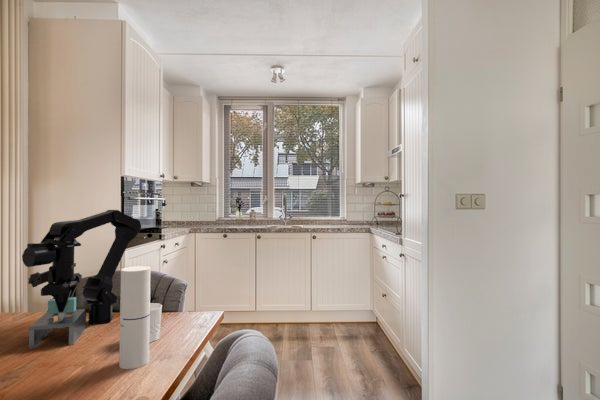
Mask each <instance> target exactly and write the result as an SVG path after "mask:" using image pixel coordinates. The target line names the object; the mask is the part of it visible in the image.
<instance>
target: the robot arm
mask: <svg viewBox="0 0 600 400" xmlns="http://www.w3.org/2000/svg"><path fill="white" fill-rule="evenodd" d="M107 224H110V225H112V226H113V227H115V228H114V235H115V236H114V237H115V238H114V240H113V243H112V244H111V246H110V248H109V250H108V252H107V254H106V257H105V258H104V261H103V262H102V264H101V266H100V269H99V271H98V272H97V274H96V275H94V276H93V277H91V276H89V277H88V278H87V280H86V282H85V284H84V286H83V287H82V289H83V291H82V295H83V298H84V299H85V301H86V303H87V304H88V305H90V308H89V309H88V325H96V324H107V323H111V322H112V320H113V318H114V315H113V305H115V304H117V301H118V296H117V295H116V294H115V293H113V292H112V291H113V288H114V285H113V284H114V283H113V277H114V275H115V273H116V271H117V269H118V267H119V264H120V262H121V260H122V257H123V256H124V253H125V252H126V250H127V248H128V246H129V243H130V242H131V241H132V240H133V239H135V238H136V237H137V236H138V234H139V233H140V231H141V229H142V224H141V221H140V220H139V218H134V217H133V216H130V215H128V214H125V213H123V212H122V211H120V210H119V209H107V210H105V211H103V212H99V213H95V214H93V215H90V216H87V217H84V218H80V219H76V220H63V221H57V222H54V223H52V224H51V225H50V227H49V231H48V232H47V233H46V234H45V236H44V237H43V238H42V239H41V241H40V242H37V243H35V242H32V243H31V242H30V243H27V245H26V248H25V249H24V251H23V254H22V256H21V257H22V258H21V259H22V260H21V261H22V262H23V265H24V266H25V267H27V268H31V267H32V268H33V267H37V266H43V265H50V264H52V265H51V266H49V267H48V270H46V271H43V272H41V273H40V272H38V271H36V272H35V273H32V274H30V275H29V278H28V282H27V283H28V284H29V285H31V287H32V288H36V287H38V286H39V285H43V284H45V285H44V286H43V287H42V288H41V289H40V296H41V297H46V296H51V297H53V299H55V302H56V305H57V308H58V311H59V312H63V311H64V309H65V306H66V304H67V301H68V299H69V298H71V297H73V295H74V293H75V291H76V290H77V287H78V285H79V284H74V283H73V282H77V283H82V282H83V281H82V279H83V277H82V274H80V273H79V272H75V268H76V266H77V262H75V247H81V246H82V244H81V242H80V241H78V240H77V238H79V237H81V236H83V234H85V232H87V231H89V230H92V229H96V228H98V227H101V226H104V225H107ZM46 283H47V284H46Z"/></svg>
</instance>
